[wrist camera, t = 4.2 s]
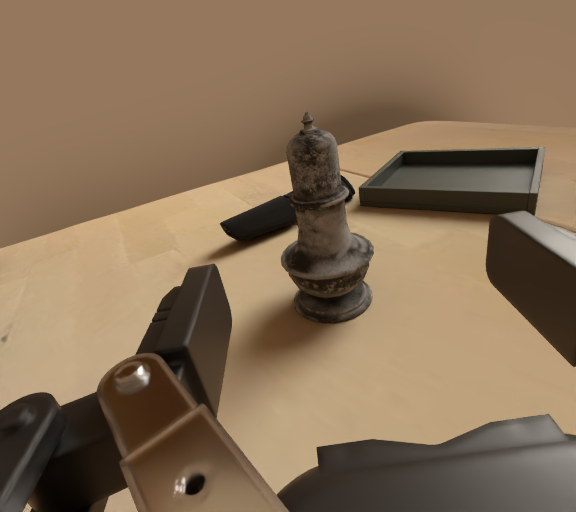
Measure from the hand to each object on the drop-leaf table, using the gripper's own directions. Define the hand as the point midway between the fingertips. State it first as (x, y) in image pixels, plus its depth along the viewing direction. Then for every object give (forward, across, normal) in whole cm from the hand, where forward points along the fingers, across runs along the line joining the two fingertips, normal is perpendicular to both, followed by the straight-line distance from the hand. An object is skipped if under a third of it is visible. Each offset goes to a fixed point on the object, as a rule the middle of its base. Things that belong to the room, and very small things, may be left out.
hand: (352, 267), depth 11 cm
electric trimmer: (+26, +2, +9) cm, 27 cm away
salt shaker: (+11, 0, +9) cm, 14 cm away
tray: (+27, -15, +9) cm, 32 cm away
